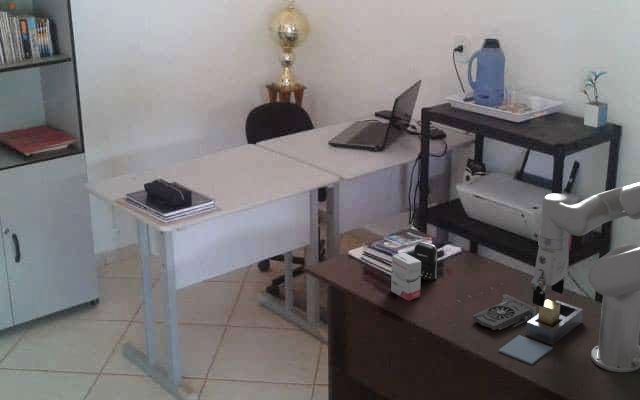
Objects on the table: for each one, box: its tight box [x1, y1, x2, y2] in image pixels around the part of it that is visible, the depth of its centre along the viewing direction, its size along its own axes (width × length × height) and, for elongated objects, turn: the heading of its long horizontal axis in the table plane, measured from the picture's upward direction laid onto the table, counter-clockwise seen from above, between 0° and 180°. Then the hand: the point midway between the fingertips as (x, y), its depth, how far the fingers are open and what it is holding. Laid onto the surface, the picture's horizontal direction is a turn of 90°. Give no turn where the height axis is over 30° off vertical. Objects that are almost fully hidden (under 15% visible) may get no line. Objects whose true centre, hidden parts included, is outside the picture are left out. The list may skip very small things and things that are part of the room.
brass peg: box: [538, 298, 560, 328], centre depth 234 cm, size 4×4×9 cm
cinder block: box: [525, 300, 584, 345], centre depth 237 cm, size 8×16×4 cm, turn 136°
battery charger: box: [413, 241, 438, 282], centre depth 267 cm, size 7×4×11 cm, turn 51°
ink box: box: [390, 251, 422, 302], centre depth 258 cm, size 9×5×12 cm, turn 34°
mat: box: [498, 334, 553, 366], centre depth 228 cm, size 10×10×1 cm
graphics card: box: [472, 293, 537, 331], centre depth 244 cm, size 17×4×12 cm
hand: (547, 298), depth 232 cm, fingers open, 9 cm apart
